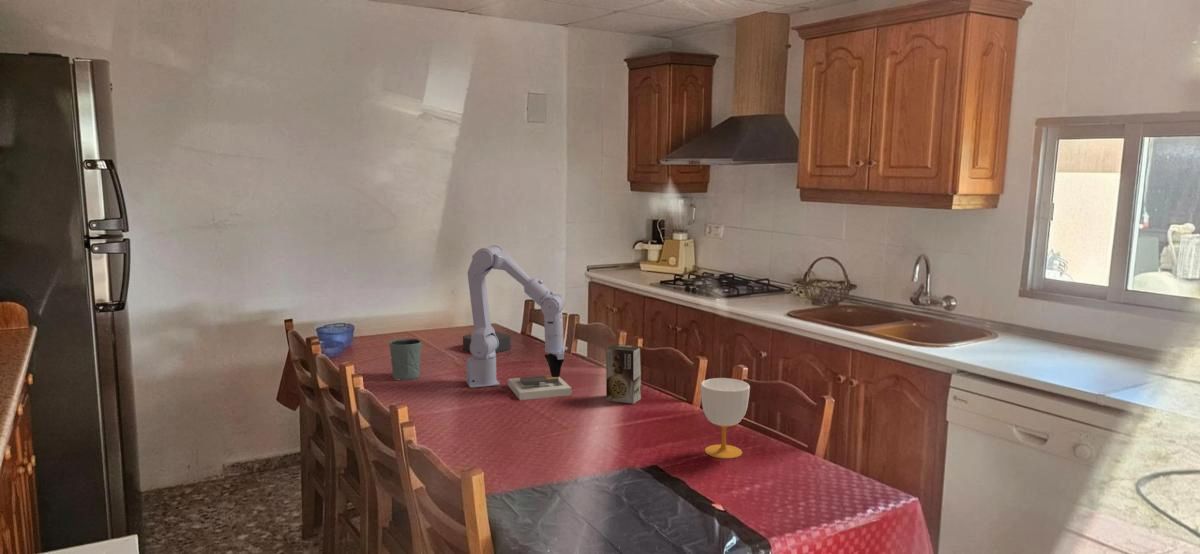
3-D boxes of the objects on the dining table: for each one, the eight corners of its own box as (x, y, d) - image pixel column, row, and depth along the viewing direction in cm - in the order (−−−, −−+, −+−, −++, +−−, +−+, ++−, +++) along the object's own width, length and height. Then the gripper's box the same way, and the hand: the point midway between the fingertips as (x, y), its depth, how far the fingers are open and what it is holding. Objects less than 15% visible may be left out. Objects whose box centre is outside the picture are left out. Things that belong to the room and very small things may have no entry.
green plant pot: (384, 379, 255) (383, 343, 253) (403, 371, 264) (402, 336, 263) (410, 382, 251) (409, 346, 250) (428, 374, 261) (427, 339, 259)
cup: (736, 464, 183) (738, 394, 181) (691, 454, 189) (692, 386, 187) (755, 449, 193) (757, 382, 191) (711, 440, 199) (712, 375, 197)
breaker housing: (520, 400, 233) (519, 388, 232) (508, 385, 248) (508, 375, 247) (571, 395, 238) (571, 384, 237) (557, 381, 253) (557, 370, 252)
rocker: (523, 385, 238) (523, 381, 238) (520, 381, 243) (520, 377, 243) (558, 382, 242) (558, 378, 242) (554, 378, 246) (554, 374, 246)
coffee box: (641, 398, 235) (642, 346, 232) (633, 404, 229) (634, 350, 227) (614, 394, 238) (614, 343, 236) (605, 400, 233) (605, 347, 230)
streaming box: (460, 349, 297) (459, 336, 296) (490, 343, 307) (489, 330, 306) (483, 356, 287) (483, 342, 286) (514, 349, 297) (513, 336, 296)
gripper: (573, 337, 236) (574, 381, 238) (559, 328, 250) (561, 370, 252) (550, 340, 234) (552, 384, 236) (538, 330, 248) (540, 372, 249)
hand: (555, 377), depth 244 cm, fingers closed, pressing on rocker
